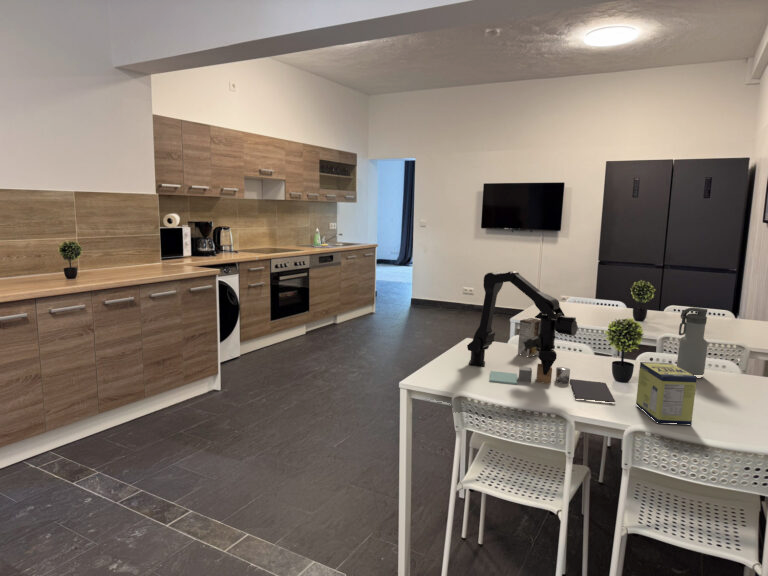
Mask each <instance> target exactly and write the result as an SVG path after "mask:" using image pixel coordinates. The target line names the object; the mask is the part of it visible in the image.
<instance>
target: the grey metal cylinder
mask: <svg viewBox="0 0 768 576" xmlns="http://www.w3.org/2000/svg"><path fill="white" fill-rule="evenodd" d="M570 375H571V368H568V367H565V366H557V367H556V370H555V379H554V380H556V381H558V382H557V383H559V382H562V383H561V384H568V383H567V382H569V383H570V379H571V378H570ZM556 381H555V382H556Z"/></svg>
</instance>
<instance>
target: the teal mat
mask: <svg viewBox="0 0 768 576" xmlns="http://www.w3.org/2000/svg"><path fill="white" fill-rule="evenodd" d="M517 375H518V373H513V372H507V371H506V372H503V371H496V370H490V375H489V376H490V377H489V383H490V382H491V383H500V384H509V385H518V376H517Z"/></svg>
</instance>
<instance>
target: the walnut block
mask: <svg viewBox="0 0 768 576" xmlns="http://www.w3.org/2000/svg"><path fill="white" fill-rule="evenodd" d="M536 365H537V367H536V378H537V379H536V382H537V383H540V382H544V383H543V384H549V383H551V384H552V375H553V367H552V366H553V365H552V366H551V368H550V370H549V371H548V373H547V375H544V374H543V366H542V364H541V363H537V364H536Z"/></svg>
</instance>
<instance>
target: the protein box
mask: <svg viewBox="0 0 768 576" xmlns="http://www.w3.org/2000/svg"><path fill="white" fill-rule="evenodd" d="M639 362H640V364H639V371H638V379H637V381H638V383H637V390H636V391H637V393H636V400H635V401H636V402H635V405H636V404H637V405H638V406H639V407H640V408H641V409H643V410H644V411H645V412H646V413H647V414H648V415H649V416H650V417H652V418H653V419H654V420H655V421H656V422H658V423H677V424H691V425H692V423H693V413H694V405H695V397H696V389H697V387H696V386H697V381H698V379H697V377H696V376H694V375H692V374H690V373H688V372H686V371H684V370H682V369H680V368H679V367H677V365H675V364H673V363H672V362H671V363H670V362H669V363H668V362H650V361H649V362H648V361H647V362H646V361H644V362H643V361H639ZM650 417H649V418H650ZM656 422H655V423H656Z"/></svg>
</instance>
